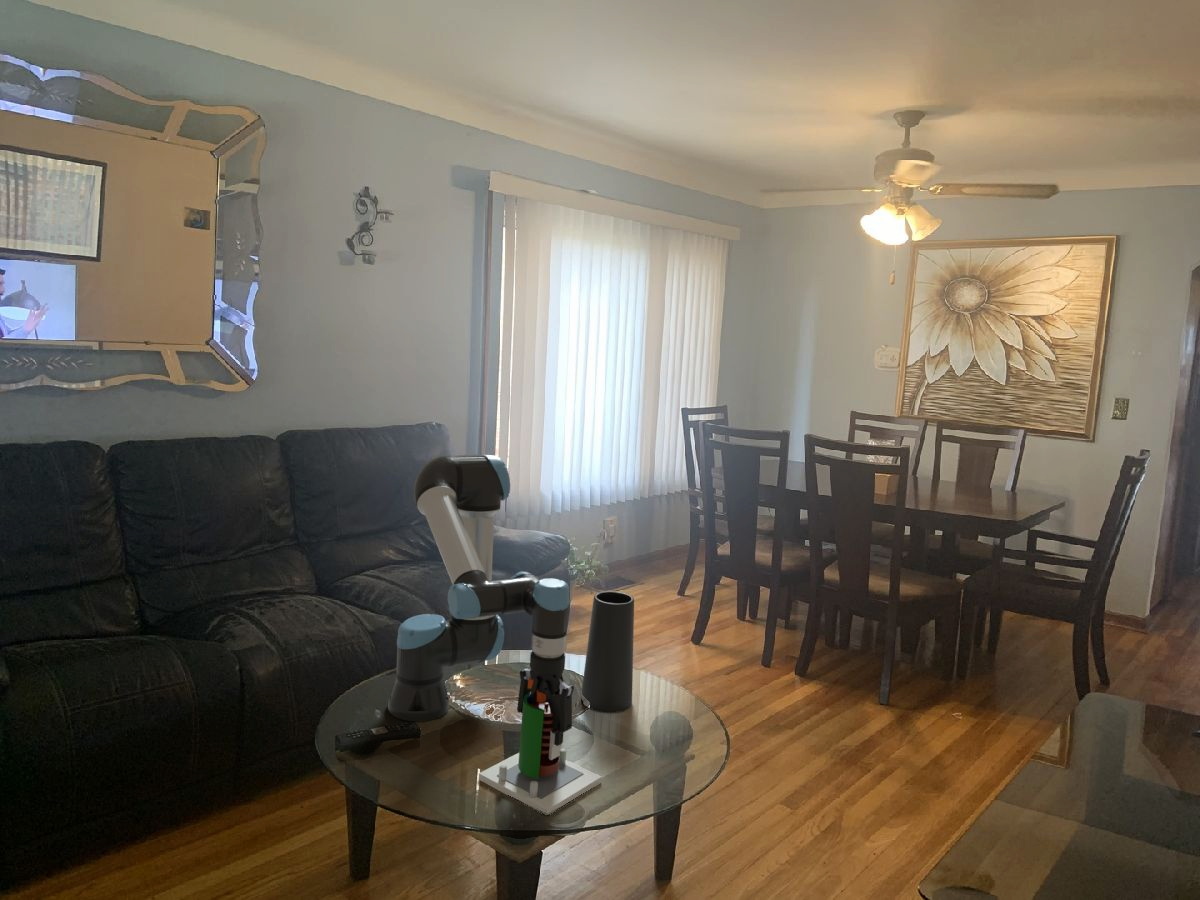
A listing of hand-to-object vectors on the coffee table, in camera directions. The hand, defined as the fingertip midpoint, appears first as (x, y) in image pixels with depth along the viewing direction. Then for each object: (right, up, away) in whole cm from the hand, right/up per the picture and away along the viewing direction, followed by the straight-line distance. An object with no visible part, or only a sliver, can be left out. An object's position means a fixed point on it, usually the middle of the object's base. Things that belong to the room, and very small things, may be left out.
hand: (541, 751), depth 194 cm
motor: (-1, -4, +1) cm, 4 cm away
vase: (+14, -1, +42) cm, 45 cm away
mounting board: (0, -7, +1) cm, 7 cm away
